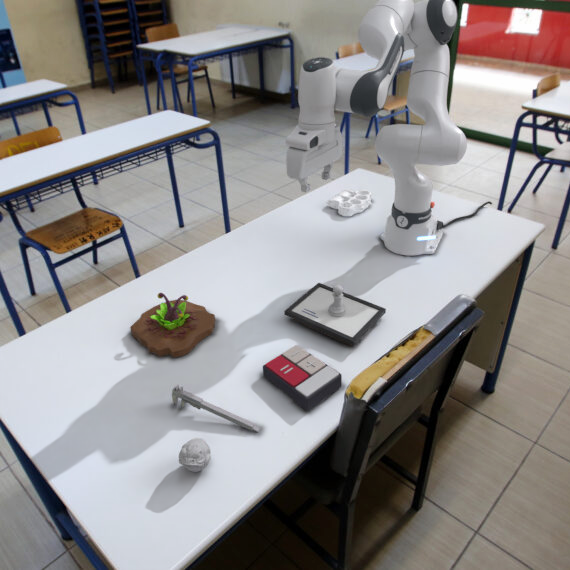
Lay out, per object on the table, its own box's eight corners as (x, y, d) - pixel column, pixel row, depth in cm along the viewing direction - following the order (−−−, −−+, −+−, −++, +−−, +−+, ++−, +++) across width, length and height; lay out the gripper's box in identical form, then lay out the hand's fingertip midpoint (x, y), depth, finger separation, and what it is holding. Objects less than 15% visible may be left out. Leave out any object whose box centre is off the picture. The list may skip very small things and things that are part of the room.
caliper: (173, 406, 110) (169, 385, 106) (176, 402, 111) (171, 382, 107) (258, 433, 103) (256, 412, 100) (260, 429, 104) (258, 408, 101)
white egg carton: (346, 193, 199) (379, 202, 192) (322, 209, 188) (356, 220, 180) (347, 185, 197) (380, 193, 190) (322, 201, 186) (356, 211, 178)
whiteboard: (318, 292, 144) (318, 282, 142) (384, 318, 133) (386, 308, 131) (284, 320, 134) (284, 310, 132) (353, 352, 123) (354, 341, 121)
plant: (174, 298, 143) (168, 265, 137) (226, 322, 134) (223, 288, 127) (119, 336, 130) (109, 302, 123) (172, 366, 120) (165, 330, 114)
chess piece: (348, 315, 130) (350, 289, 125) (331, 318, 129) (332, 293, 124) (342, 304, 134) (343, 279, 129) (325, 308, 133) (326, 283, 128)
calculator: (296, 341, 121) (342, 371, 111) (297, 355, 123) (342, 386, 113) (261, 363, 115) (306, 397, 105) (262, 377, 117) (307, 411, 107)
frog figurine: (176, 481, 95) (170, 457, 91) (187, 450, 100) (183, 427, 96) (207, 485, 94) (202, 462, 90) (217, 454, 99) (213, 430, 95)
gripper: (329, 118, 130) (327, 169, 138) (281, 140, 117) (282, 195, 125) (349, 122, 127) (347, 174, 135) (303, 145, 114) (303, 201, 122)
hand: (315, 184), depth 130 cm, fingers open, 8 cm apart
